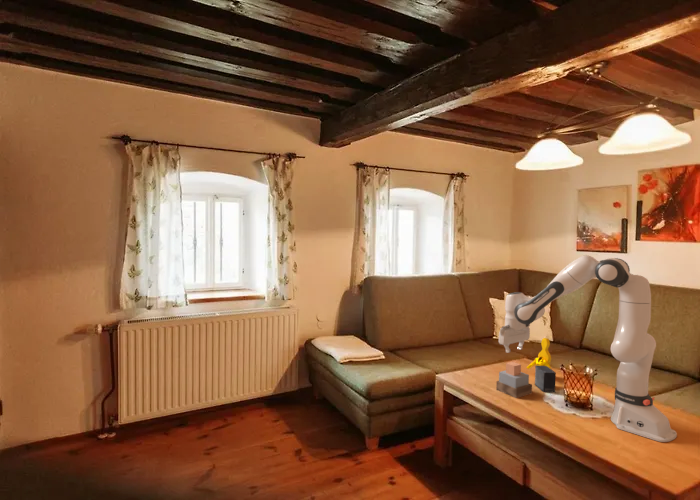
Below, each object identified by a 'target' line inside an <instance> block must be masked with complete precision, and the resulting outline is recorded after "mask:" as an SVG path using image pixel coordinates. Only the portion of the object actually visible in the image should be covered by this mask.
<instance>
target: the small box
mask: <svg viewBox="0 0 700 500" xmlns="http://www.w3.org/2000/svg"><path fill="white" fill-rule="evenodd" d="M534 367H535V372H534V385H535V387H537V388H538V389H539V390H540V391H541V392H543V393H556V376H557V375H556V374H557V373H556V372H555V371H554V370H553V369H552V368H551V369H552V370H551V369H550V368H549V367H547V366H536V365H534Z"/></svg>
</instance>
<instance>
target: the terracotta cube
mask: <svg viewBox="0 0 700 500" xmlns="http://www.w3.org/2000/svg"><path fill="white" fill-rule="evenodd" d="M505 370H506V373H508V374H510V375H513V376H516V375H520V374H521V372H522V364H521V363H518V362H515V361H511V362H506V363H505Z"/></svg>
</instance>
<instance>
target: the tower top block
mask: <svg viewBox="0 0 700 500" xmlns="http://www.w3.org/2000/svg"><path fill="white" fill-rule="evenodd" d="M529 378H530V375H529V374H527V373H525V372H522V371H521V374H520V375H516V376H513V375H510V374H508V373H506V369H505V370H502V371H499V373H498V381H499V382H501V383H504V384H506V385H509V386H511V387H514V388H518V387H522V386H525V385H528V384H530V383H529V381H530V380H529Z"/></svg>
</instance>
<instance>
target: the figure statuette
mask: <svg viewBox="0 0 700 500" xmlns="http://www.w3.org/2000/svg"><path fill="white" fill-rule="evenodd" d="M541 339H542V340H541V342H540V345H541V351H539V352H538V355H537V357H535V358H534V360H533V361H531V363H530V364H528V365H527V366H526V369H527V370H529V369H531V368H532V367H535V366H547V367H549V368H550V369H551V370H553V369H552V367H551V362H552V355H551V353H550V351H549V348H550V345H551V342H550V339H549V338H548V337H543V338H541Z"/></svg>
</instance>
